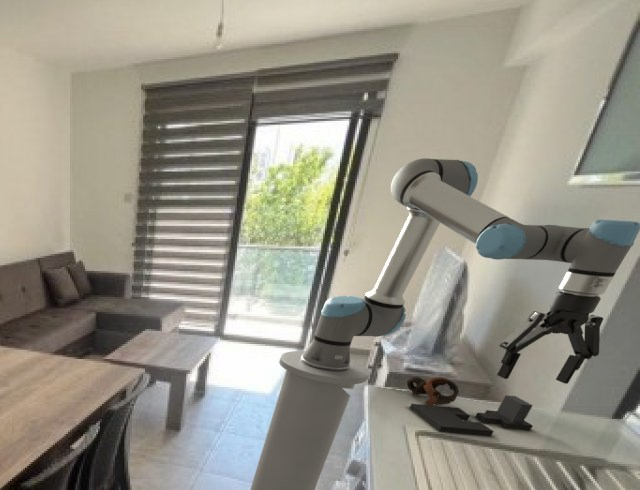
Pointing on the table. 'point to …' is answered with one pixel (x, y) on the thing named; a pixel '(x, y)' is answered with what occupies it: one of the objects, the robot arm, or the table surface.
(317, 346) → the robot arm
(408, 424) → the table surface
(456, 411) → the large pad
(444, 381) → the brown double ring
